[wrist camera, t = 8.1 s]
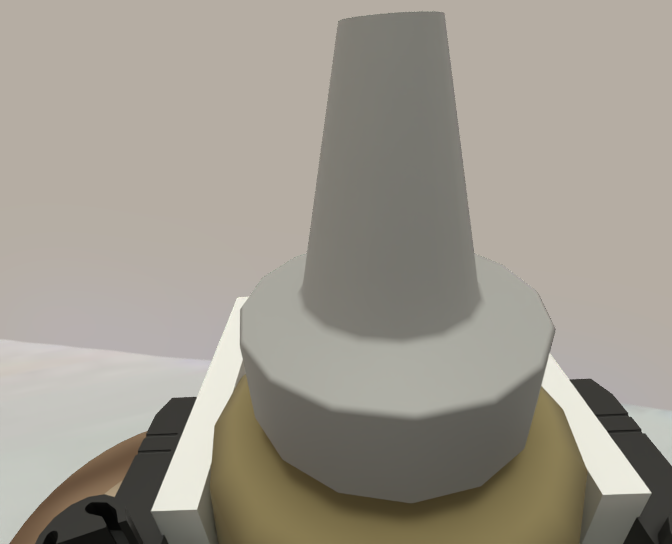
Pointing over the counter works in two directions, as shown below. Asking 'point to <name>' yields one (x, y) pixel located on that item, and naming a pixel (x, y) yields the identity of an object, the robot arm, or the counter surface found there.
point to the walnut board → (82, 487)
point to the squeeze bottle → (394, 341)
